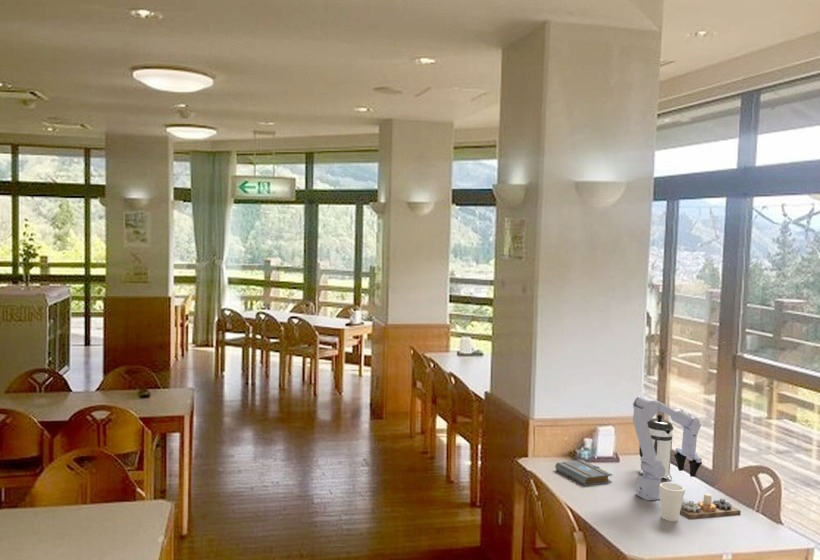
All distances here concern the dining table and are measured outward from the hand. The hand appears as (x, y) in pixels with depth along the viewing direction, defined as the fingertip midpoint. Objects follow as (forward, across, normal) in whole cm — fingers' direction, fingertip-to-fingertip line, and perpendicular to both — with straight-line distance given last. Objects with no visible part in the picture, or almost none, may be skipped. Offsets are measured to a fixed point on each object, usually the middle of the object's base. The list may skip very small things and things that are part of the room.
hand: (686, 473), depth 305 cm
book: (+10, +28, +34) cm, 45 cm away
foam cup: (+10, -22, +26) cm, 35 cm away
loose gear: (+8, -19, +5) cm, 21 cm away
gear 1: (+8, -19, +13) cm, 24 cm away
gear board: (+9, -19, +5) cm, 21 cm away
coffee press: (+10, +23, -1) cm, 25 cm away
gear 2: (+8, -19, -3) cm, 20 cm away
